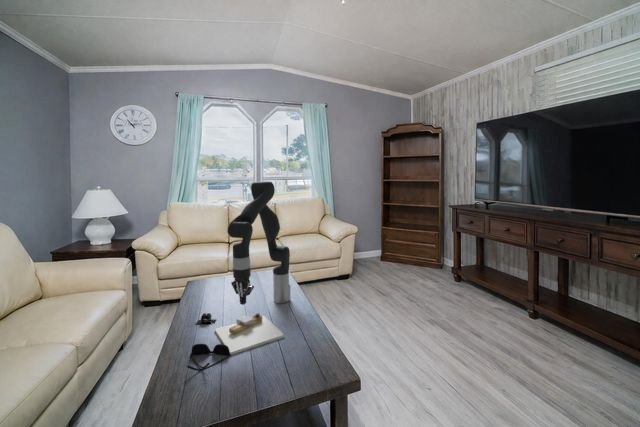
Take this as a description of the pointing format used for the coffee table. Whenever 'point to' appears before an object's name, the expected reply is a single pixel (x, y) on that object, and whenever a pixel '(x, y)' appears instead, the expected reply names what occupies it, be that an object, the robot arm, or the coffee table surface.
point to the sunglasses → (204, 349)
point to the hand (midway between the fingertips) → (243, 303)
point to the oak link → (241, 326)
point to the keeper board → (248, 334)
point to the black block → (206, 322)
